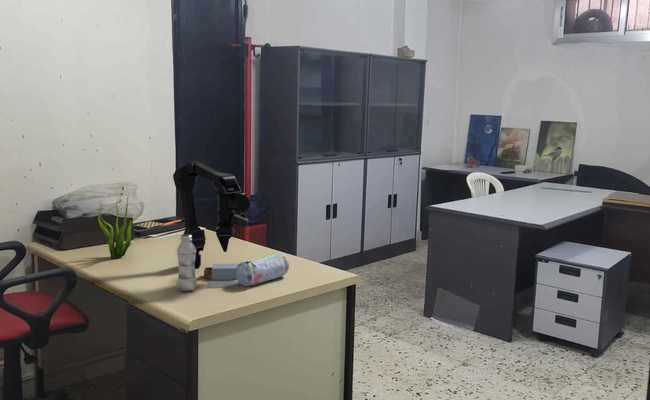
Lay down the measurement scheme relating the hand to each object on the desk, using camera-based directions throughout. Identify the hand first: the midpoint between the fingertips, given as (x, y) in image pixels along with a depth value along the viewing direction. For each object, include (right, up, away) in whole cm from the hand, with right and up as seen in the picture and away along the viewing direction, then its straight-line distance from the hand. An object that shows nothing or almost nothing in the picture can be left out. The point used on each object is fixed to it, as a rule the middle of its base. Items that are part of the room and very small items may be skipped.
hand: (225, 249), depth 229 cm
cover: (0, -11, +2) cm, 11 cm away
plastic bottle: (-11, -14, -16) cm, 24 cm away
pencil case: (+14, -12, -3) cm, 19 cm away
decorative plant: (-48, -6, +27) cm, 55 cm away
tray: (0, -11, +2) cm, 11 cm away
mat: (+1, -13, -9) cm, 15 cm away
